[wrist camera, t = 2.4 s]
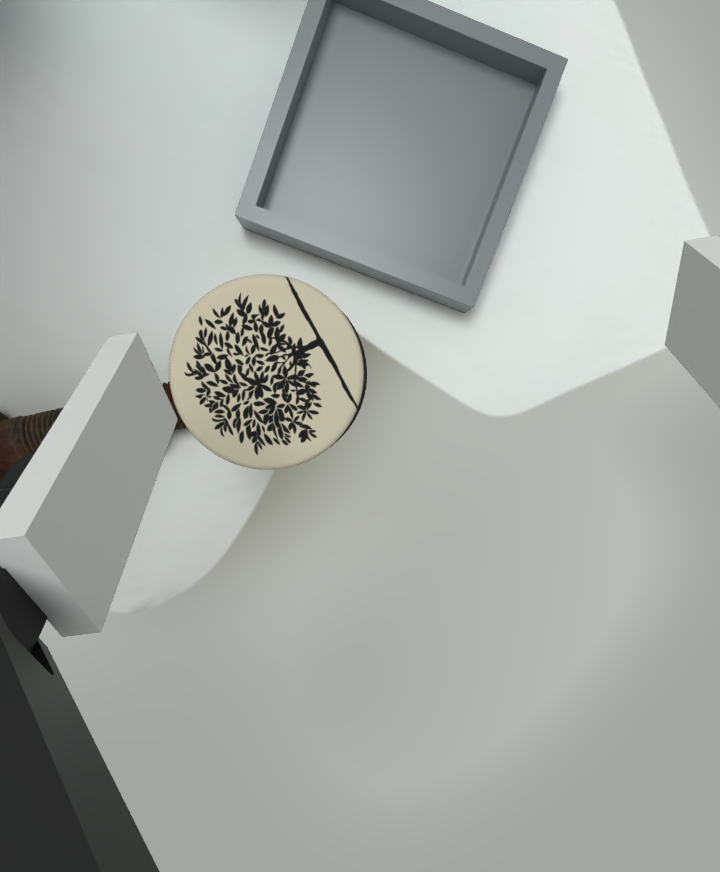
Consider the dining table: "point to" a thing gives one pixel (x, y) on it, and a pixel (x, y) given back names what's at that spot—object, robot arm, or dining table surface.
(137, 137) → the dining table surface
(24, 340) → the dining table surface
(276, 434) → the travel mug
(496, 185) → the parts tray
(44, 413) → the bolt
